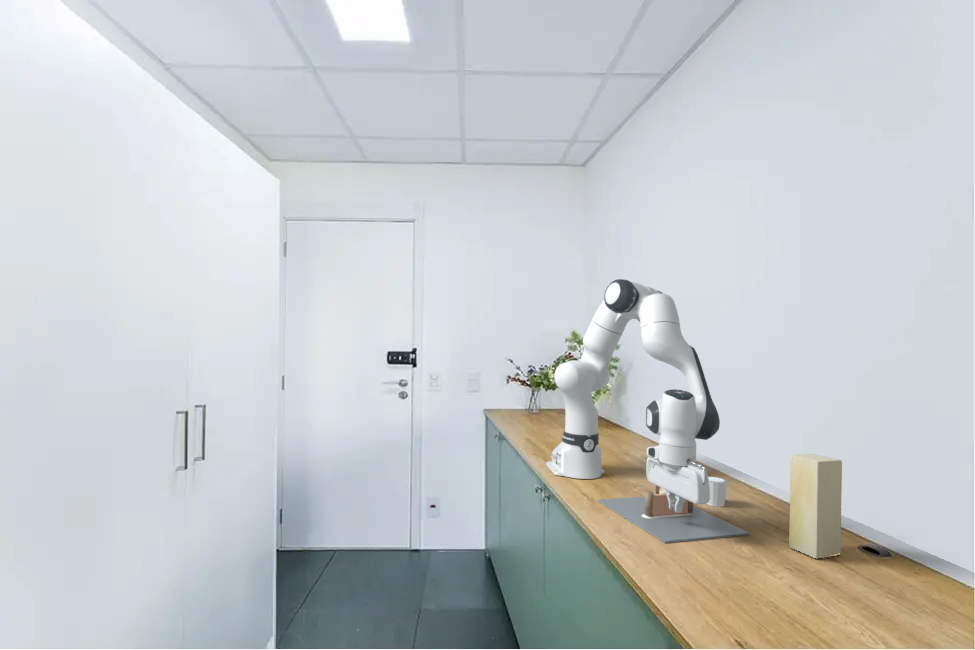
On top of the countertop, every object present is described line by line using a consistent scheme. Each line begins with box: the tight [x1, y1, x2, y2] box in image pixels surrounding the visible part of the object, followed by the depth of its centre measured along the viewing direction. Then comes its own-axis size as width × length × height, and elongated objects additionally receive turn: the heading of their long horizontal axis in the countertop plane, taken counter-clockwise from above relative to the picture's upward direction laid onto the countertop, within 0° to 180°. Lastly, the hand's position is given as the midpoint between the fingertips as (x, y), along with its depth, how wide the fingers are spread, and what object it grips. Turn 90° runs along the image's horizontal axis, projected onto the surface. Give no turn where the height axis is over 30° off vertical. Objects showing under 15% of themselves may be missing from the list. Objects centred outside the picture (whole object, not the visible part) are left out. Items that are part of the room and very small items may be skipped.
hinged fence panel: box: [644, 490, 694, 516], centre depth 132 cm, size 14×2×6 cm, turn 105°
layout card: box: [597, 496, 750, 544], centre depth 132 cm, size 30×24×1 cm
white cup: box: [707, 476, 728, 507], centre depth 145 cm, size 7×7×7 cm
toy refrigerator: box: [788, 453, 843, 560], centre depth 113 cm, size 8×7×21 cm
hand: (675, 510), depth 126 cm, fingers closed
